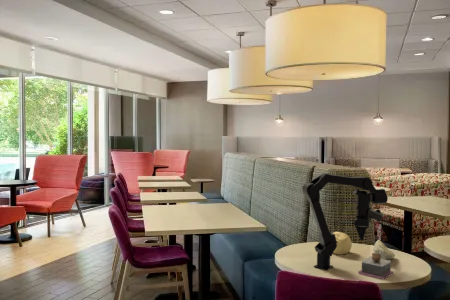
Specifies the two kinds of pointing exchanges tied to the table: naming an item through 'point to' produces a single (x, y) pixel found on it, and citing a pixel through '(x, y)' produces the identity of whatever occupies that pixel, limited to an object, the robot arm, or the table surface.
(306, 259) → the table surface
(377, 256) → the plunger
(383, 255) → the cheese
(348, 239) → the sculpture
